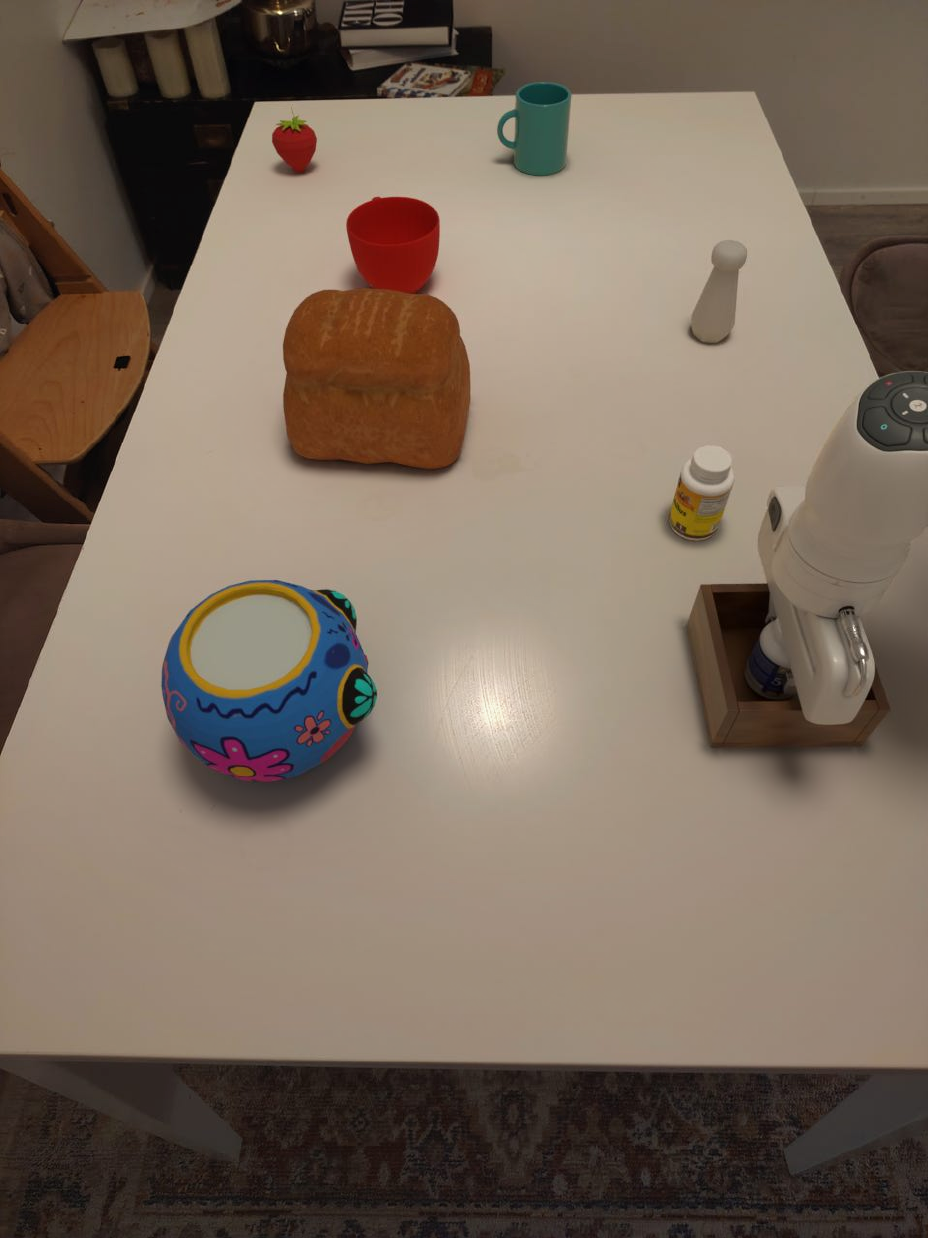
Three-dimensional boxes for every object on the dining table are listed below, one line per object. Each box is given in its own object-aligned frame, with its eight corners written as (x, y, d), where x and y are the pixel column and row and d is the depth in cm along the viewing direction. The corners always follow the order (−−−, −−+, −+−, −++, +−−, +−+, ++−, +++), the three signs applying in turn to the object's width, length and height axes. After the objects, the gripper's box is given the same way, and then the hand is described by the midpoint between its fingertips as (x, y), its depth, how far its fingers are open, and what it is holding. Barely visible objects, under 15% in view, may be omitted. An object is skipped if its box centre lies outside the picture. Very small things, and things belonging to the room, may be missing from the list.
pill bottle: (764, 709, 78) (792, 657, 71) (732, 666, 81) (756, 613, 74) (810, 689, 79) (843, 636, 72) (777, 648, 82) (805, 593, 75)
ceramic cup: (420, 242, 129) (416, 176, 121) (453, 301, 119) (451, 234, 111) (339, 257, 127) (330, 192, 118) (367, 319, 117) (358, 253, 109)
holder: (822, 624, 85) (846, 582, 79) (860, 747, 77) (891, 709, 71) (685, 626, 85) (700, 583, 79) (709, 748, 77) (728, 711, 71)
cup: (494, 154, 145) (495, 83, 136) (562, 151, 145) (568, 80, 136) (498, 179, 140) (499, 107, 131) (568, 176, 140) (574, 104, 131)
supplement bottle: (663, 507, 95) (680, 440, 86) (711, 505, 95) (733, 438, 87) (672, 544, 92) (691, 477, 83) (722, 542, 92) (746, 475, 83)
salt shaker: (699, 317, 116) (721, 228, 105) (737, 331, 114) (763, 241, 103) (680, 338, 113) (700, 248, 103) (718, 353, 111) (743, 263, 101)
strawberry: (280, 164, 144) (268, 101, 136) (323, 163, 144) (314, 101, 136) (275, 181, 141) (263, 118, 133) (319, 180, 141) (310, 117, 133)
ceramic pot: (397, 780, 75) (381, 696, 63) (202, 834, 73) (146, 758, 61) (357, 630, 85) (336, 533, 73) (183, 673, 83) (132, 580, 70)
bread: (315, 378, 110) (291, 259, 96) (475, 389, 108) (474, 269, 94) (282, 470, 99) (250, 351, 86) (458, 483, 98) (455, 364, 84)
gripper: (915, 672, 60) (846, 758, 71) (839, 473, 72) (791, 573, 83) (827, 673, 60) (773, 759, 71) (766, 474, 72) (728, 574, 83)
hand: (782, 657), depth 77 cm, fingers closed on pill bottle, 5 cm apart
